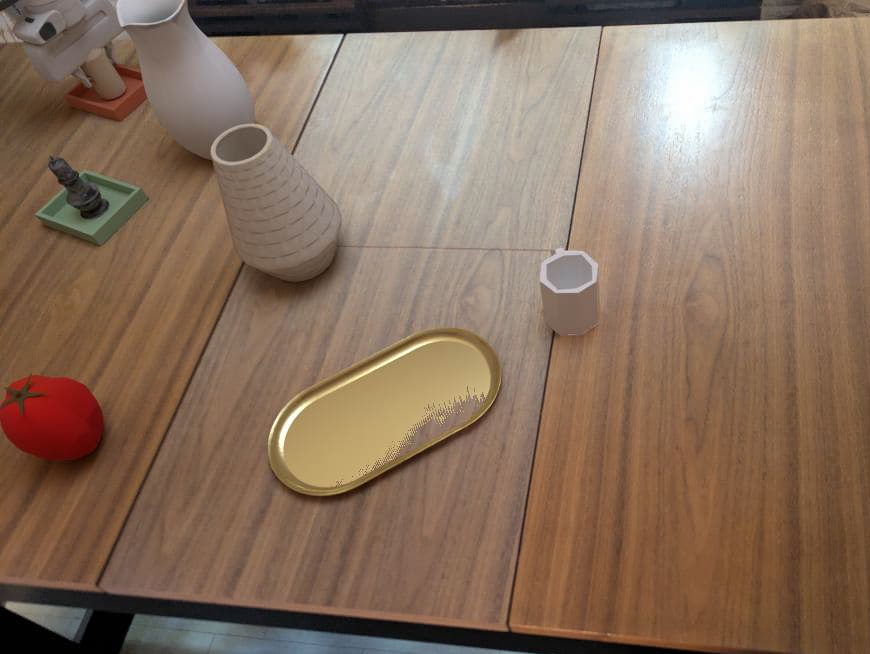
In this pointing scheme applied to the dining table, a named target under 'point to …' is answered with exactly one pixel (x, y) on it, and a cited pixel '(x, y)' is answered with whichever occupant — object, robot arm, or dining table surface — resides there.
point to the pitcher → (185, 74)
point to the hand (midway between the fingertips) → (102, 75)
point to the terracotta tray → (110, 108)
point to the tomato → (51, 417)
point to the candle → (103, 75)
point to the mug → (570, 292)
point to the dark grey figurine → (79, 190)
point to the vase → (274, 205)
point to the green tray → (100, 229)
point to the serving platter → (379, 409)
